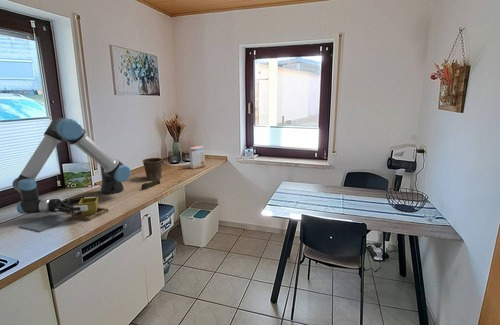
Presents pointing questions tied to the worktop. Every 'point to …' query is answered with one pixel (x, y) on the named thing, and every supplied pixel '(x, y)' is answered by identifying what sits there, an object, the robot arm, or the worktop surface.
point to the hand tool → (150, 184)
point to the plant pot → (153, 168)
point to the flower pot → (89, 205)
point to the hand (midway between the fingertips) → (91, 203)
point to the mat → (44, 223)
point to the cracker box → (197, 157)
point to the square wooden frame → (78, 216)
